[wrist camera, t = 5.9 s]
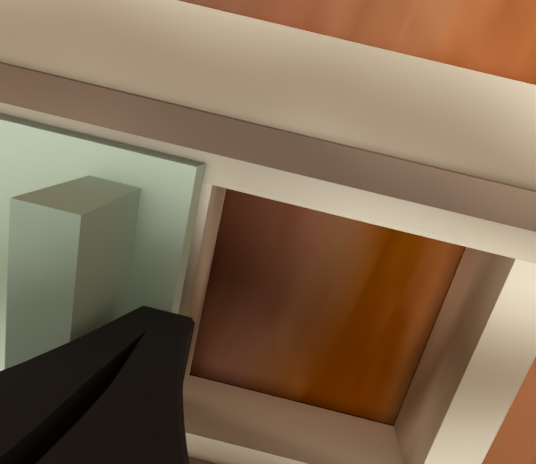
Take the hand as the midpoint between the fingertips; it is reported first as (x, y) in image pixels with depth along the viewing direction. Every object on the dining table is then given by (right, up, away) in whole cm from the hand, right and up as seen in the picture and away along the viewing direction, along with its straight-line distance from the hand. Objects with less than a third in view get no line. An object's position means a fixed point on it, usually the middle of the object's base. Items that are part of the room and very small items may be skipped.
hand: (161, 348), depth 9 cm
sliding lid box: (+1, +1, +4) cm, 4 cm away
